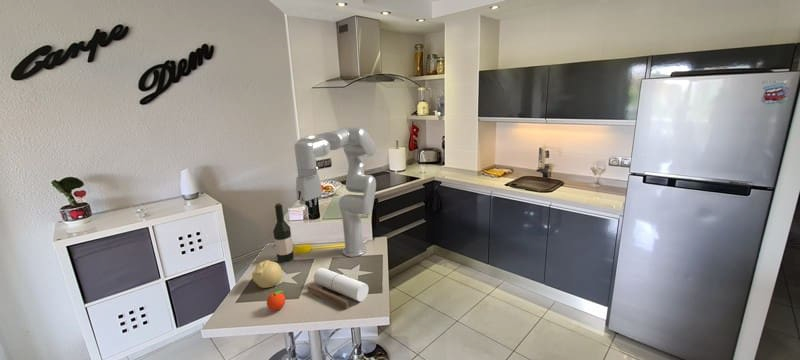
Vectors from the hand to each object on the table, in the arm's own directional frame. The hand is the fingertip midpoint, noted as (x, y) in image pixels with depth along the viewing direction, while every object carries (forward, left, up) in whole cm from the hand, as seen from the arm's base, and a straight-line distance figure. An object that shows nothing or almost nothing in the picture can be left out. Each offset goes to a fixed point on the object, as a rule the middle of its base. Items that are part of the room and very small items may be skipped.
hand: (312, 214), depth 137 cm
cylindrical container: (-1, -1, -30) cm, 30 cm away
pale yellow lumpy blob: (+12, -21, -33) cm, 41 cm away
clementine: (+21, -2, -33) cm, 39 cm away
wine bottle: (-7, -34, -33) cm, 48 cm away
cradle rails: (+1, +11, -33) cm, 35 cm away
